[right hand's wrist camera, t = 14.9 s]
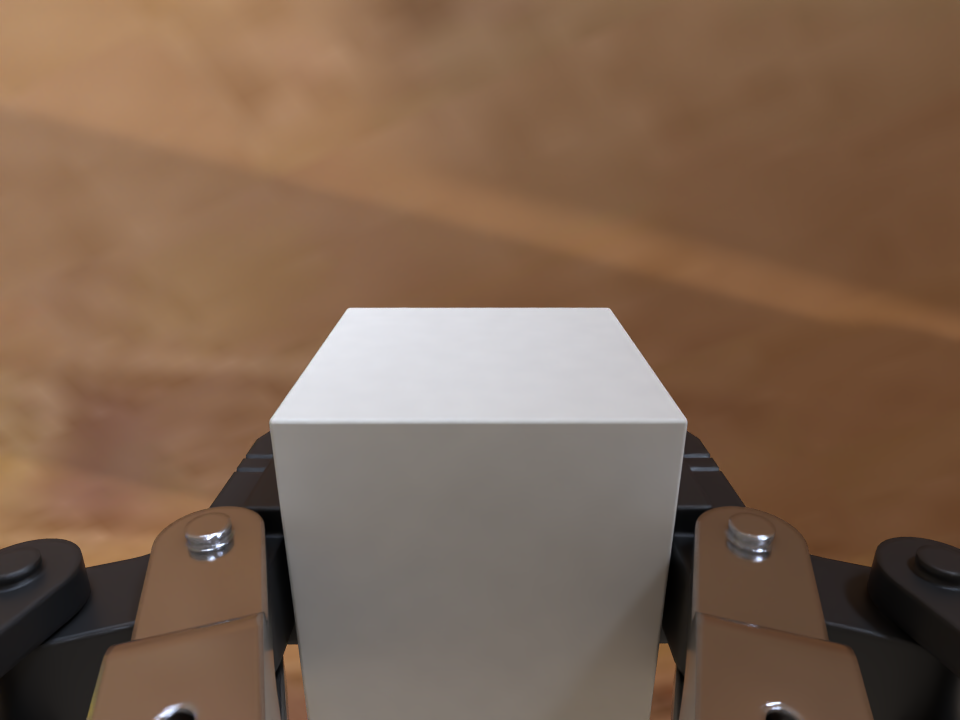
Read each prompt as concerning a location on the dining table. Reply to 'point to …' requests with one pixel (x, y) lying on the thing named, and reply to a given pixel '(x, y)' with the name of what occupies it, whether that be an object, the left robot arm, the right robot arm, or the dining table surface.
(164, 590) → the right robot arm
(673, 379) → the dining table surface
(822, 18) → the dining table surface
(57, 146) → the dining table surface
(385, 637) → the block
